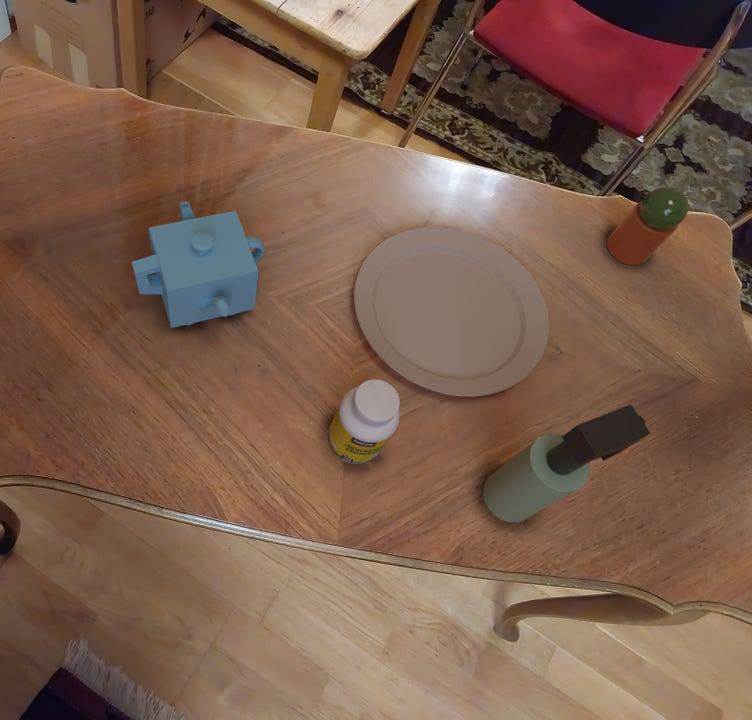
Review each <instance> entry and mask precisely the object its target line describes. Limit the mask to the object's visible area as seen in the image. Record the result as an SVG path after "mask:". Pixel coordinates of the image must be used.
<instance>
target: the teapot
mask: <svg viewBox="0 0 752 720" xmlns="http://www.w3.org/2000/svg"><path fill="white" fill-rule="evenodd" d="M179 214H180V215H179V216H180V220H179V221H175V222H170V223H166V224H161V225H155V226H151V227H148V234H149V243H150V250H151V255H148V256H145V257H142V258H140V259H136V260H133V261H131V266H132V269H133V275H134V279H135V282H136V286H137V289H138V294H139V295H161V299H162V302H163V304H164V309H165V313H166V316H167V319H168V323H169V326H170V329H173V328H178V327H182V326H185V325H186V326H190V325H193V324H195V323H199V322H203V321H208V320H212V319H217V318H222V317H223V318H227V317H228V316H234V315H236V314H238V313H243V312H247V311H251V310H255V308H256V299H257V289H258V282H259V272H260V270H259V268H258V266H257V264H258V262H259V261H260V260H261V259H262V258H263V256H264V255H265V252H266V249H265V248H266V247H265V245H264V242H263V241H262V240H261V239H260V238H258V237H256V236H247V235H246V234H245V231H244V228H243V226H242V222H241V219H240V217H239V215H238V212H237V210H233V211H227V212H222V213H217V214H212V215H206V216H200V217H196V216H195V214H194V212H193V210H192V206H191V205H190V202H189V201H187V200H186V201H182V202H179ZM251 249H253V251H252V250H251Z"/></svg>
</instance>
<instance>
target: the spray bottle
mask: <svg viewBox="0 0 752 720" xmlns="http://www.w3.org/2000/svg"><path fill="white" fill-rule="evenodd" d="M649 435H651V431H650V430H649V428H648V427H647V426H646V420H645V418H644V417H643V416H641V415H639V413H638V412H637V411H636V409H635V408H634V406H633V405H632V404H628V405H626V406H623V407H620V408H618V409H615V410H612V411H610V412H608V413H604V414H603V415H600V416H598V417H595V418H592V419H589V420H587V421H584V422H581V423H579V424H577V425H575V426H574V427H573V428H571V429H570V430H569V431H567V432H566V433H564V434H562V433H557V432H549V433H545V434H542V435H540V436H539V437H537V438H536V439H535V440H533V441H532V442H531V443H530V444H528V445H527V446H526V447H525V448H523V449H522V450H520V451H519V452H518V453H517V454H516V455H514V456H513V457H512V458H511V459H510V460H508V461H507V462H505V463H504V464H503V465H502V466H500V467H498V469H497V470H495V471H494V472H493V473H491V474H490V475H489V476H488V477H487V478H486V479H485V482H484V483H483V488H482V497H483V501H484V503H485V505H486V507H487V509H488V510H489V511H490V513H491V514H492V515H494V517H496V518H498V519H499V520H501V521H504V522H507V523H520V522H523V521H524V520H526V519H528V518H530V517H532V516H534V515H535V514H538V513H539V512H541V511H542V510H545V509H546V508H548V507H550V506H552V505H553V504H555V503H557V502H558V501H560V500H562V499H564V498H566V497H567V496H570V495H571V494H573V493H575V492H576V491H578V490H580V489H582V488H583V487H584V486H585V485H586V484H587V482H588V480H589V478H590V474H591V464H590V463H591V462H593V461H596V460H598V459H602V458H601V457H603V456H606V455H608V454H611V453H613V452H615V451H618V450H620V449H623V448H625V447H628V446H630V445H632V444H633V445H635V444H637V443H638V442H640V441H641V440H642V439H644V438H646V437H648V436H649ZM639 440H640V441H639ZM637 441H638V442H637ZM636 442H637V443H636ZM634 443H635V444H634ZM633 445H632V446H633ZM630 447H631V446H630ZM628 448H629V447H628Z"/></svg>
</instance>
